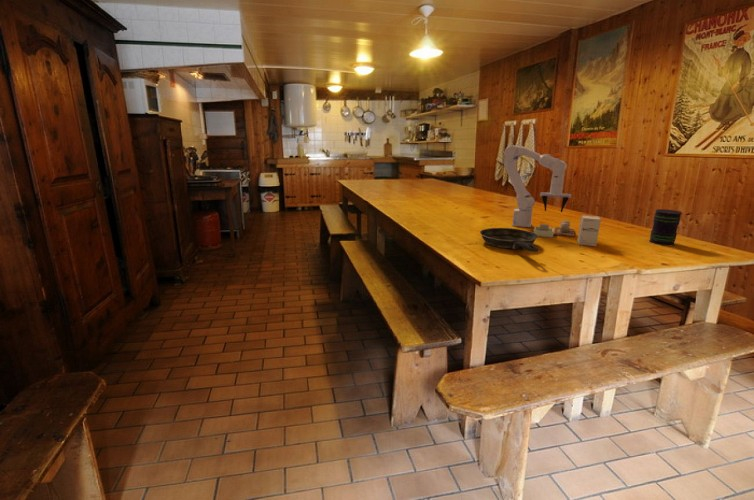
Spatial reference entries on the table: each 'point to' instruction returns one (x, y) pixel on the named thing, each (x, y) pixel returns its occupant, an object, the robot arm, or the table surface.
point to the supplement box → (588, 230)
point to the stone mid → (565, 227)
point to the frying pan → (510, 238)
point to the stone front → (544, 227)
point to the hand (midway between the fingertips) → (553, 211)
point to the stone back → (565, 222)
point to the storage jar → (665, 227)
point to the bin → (544, 232)
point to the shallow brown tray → (570, 234)
